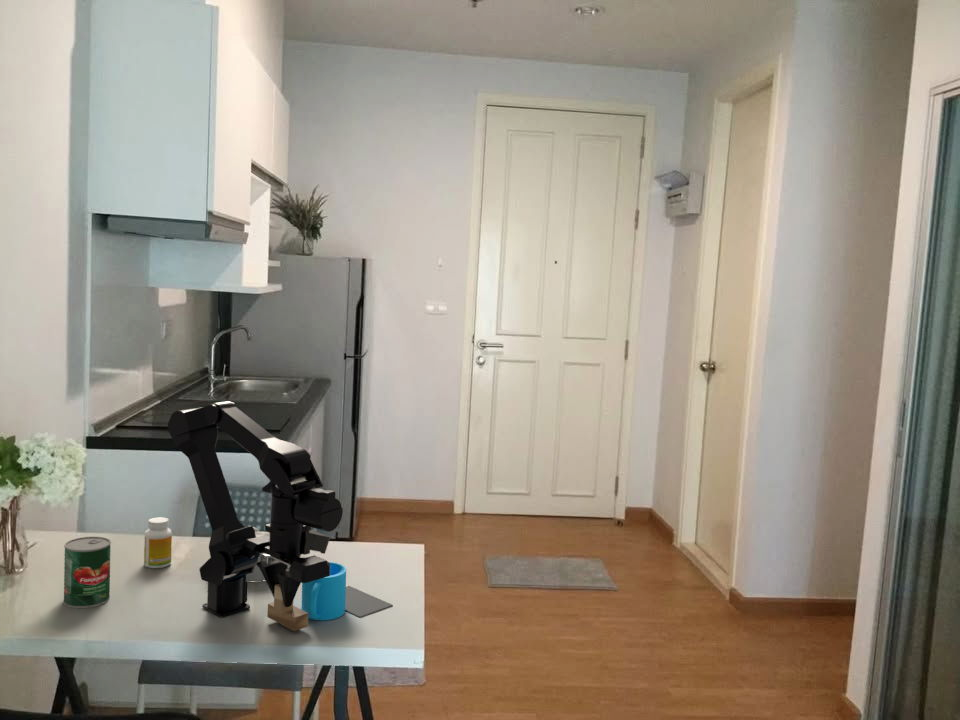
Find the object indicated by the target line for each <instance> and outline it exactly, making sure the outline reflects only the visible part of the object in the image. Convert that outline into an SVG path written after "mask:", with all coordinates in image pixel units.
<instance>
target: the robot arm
mask: <svg viewBox="0 0 960 720" xmlns="http://www.w3.org/2000/svg"><path fill="white" fill-rule="evenodd" d="M167 429H168V433H169V436H170V437H171V439H172V441H173V444H174V445H175V447H176V449H178V450H179V451H180V452H181V453H183V455H185V456H186V458H188V461H189V463H190V467H191V469H192V473H193V476H194V478H195V482H196V485H197V488H198V490H199V491H198V492H199V494H200V496H201V500H202V503H203V506H204V509H205V512H206V515H207V519H208V521H209V524H210V527H211V528H210V529H211V535H210V539H209V543H208V551H209V556H210V557H209V559H208V560H206V562H204V563H203V564H202V566H200V567H199V573H200V574H199V575H200V578H201V580H202V581H204V582H207V598H206V599H207V602H205V603H203V604H202V605H201V606H202V608H203V609H205V610H207V612H208V611H209V612H210V613H213V615H216V616H218V617H219V618H222V617H226V616H229V615H233V614H237V613H240V612H243V611H247V610H249V609H251V605H250V604H248V603H247V602H248V588H249V587H248V586H249V582H247V581H246V574H249V573H253V570H254V567H255V564H257V566H258V567H259V568H260V570H261V572H262V574H263V576H264V578H265V580H266V581H265V582H266V585H267V586H268V588H269V591H270V592H271V594H272V595H271V596H272V597H273V598H274V592H275V585H277V584H280V589H281V593H282V598H283V602H284V605H285V607H290V606H291V605H292V602H293V603H294V600H295V597H296V594H297V592H298V590H299V587H300V586H301V584H302V583H307V582H311V581H314V580H318V579H321V578H325V577H328V576H330V563H329V562H330V561H328V560H327V559H324V558H321V557H320V556H317V555H315V554H313V555H310V556H307V557H301V555H309V554H311V551H314V552H319V553H320V554H325V555H326V552H327V549H328V546H329V543H330V540H331V539H330V538H331V536H329V535H326V534H324V533H321V532H319V531H315V530H313V529H316V530H320V531H325V532H332V531H334V530H336V528H338V526H339V525H340V523H341V520H342V517H343V514H344V513H343V512H344V509H343V507H342V504H341V501H340V500H339V499H338V498H336V491H334V490H332V489H331V490H330V489H328V490H326V489H321V488H323V487H324V484H323V483H322V481H321V479H320V476H319V475H318V472H317V470H316V468H315V465H314V463H313V462H312V460H311V457H312V456H311V455H310V453H309V452H308V451H307V450H306V449H304V448H303V447H301V446H299V445H297V444H295V443H293V442H290V441H286V440H281V439H279V438H277V437H276V436H274V435H273V434H272V433H270V432H268V431H267V430H266V429H265V428H264V427H262V425H260V424H259V423H257V422H256V421H254V420H253V419H252V418H251V417H249V416H248V415H247V414H245V413H244V412H243V411H242V410H241V409H239V408H238V405H237V404H235V402H232V401H229V400H227V401H220V402H219V401H218V402H212V403H210V404H209V405H208V404H207V405H206V406H203V407H195V408H187V409H181V410H180V409H179V410H175V411H174V412H173V413H171V415H170V417H169V420H168V421H167ZM218 429H220V430H221V431H222V432H223V433H225V434H226V435H227V436H228V437H230V438H231V439H232V440H233V441H235V442H236V444H238V445H239V446H241V447H242V448H243V449H245V451H247V452H249V454H250V455H252V456H253V457H254V459H256V460H257V462H258V466H259V469H260V471H261V472H262V473H263V474H264V476H265V477H266V478H267V479H268V480H269V482H268V483H267V484H266V485H264V486H262V488H261V490H262V492H264V493H269V494H271V495H270V496H271V497H270V518H269V519H270V520H269V521H270V523H268V524H267V523H266V524H265V525H264V530H265V532H269V533H270V536H268V535H265V536H261V537H256V535H255V530H254V528H253V527H254V526H252V525H249V526H245V525H244V523H242V522H241V521H240V520H239V518H238V514H237V512H236V508H235V506H234V502H233V500H232V497H231V494H230V491H229V488H228V485H227V481H226V478H225V476H224V473H223V469H222V467H221V463H220V460H219V458H218V454H217V451H216V445H217V443H218V437H219V430H218ZM300 480H303V481H300ZM296 481H300V482H296ZM293 482H296V483H293ZM312 528H313V529H312ZM259 556H260V562H257V561H258V557H259Z"/></svg>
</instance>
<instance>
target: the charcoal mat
mask: <svg viewBox="0 0 960 720" xmlns="http://www.w3.org/2000/svg"><path fill="white" fill-rule="evenodd" d="M390 607H393V604H392V603H390V602H387V601H385V600H382V599H380V598H378V597H376V596H374V595H371V594H369V593H367V592H364V591H362V590H360V589H357V588H355V587H353V586H351V585H346V599H345V612H347V613H349V614H351V615H354V616H355V617H357V618H362V617H365V616H368V615H371V614H374V613H376V612H379V611H382V610H385V609H387V608H390Z"/></svg>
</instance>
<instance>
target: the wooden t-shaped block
mask: <svg viewBox="0 0 960 720" xmlns="http://www.w3.org/2000/svg"><path fill="white" fill-rule="evenodd" d="M266 617H267V618H269V619H271V621H272V620H273V621H274V622H276V623H278V624H280V625H282V626H284V627H285V628H287V629H289V630H290V631H293V632H296V631H298V630H301V629H305V628H307V627H309V618H308V613H307V612H305V611H303V610H302V608H299V607H297V606H295V605H294V601H293V602H292V605H291V606H290V607H285V605H284V602H283V598H282V593H281V589H280V584H277V585H275V592H274V597H273V601H272V602H269V603H267V615H266Z"/></svg>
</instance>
